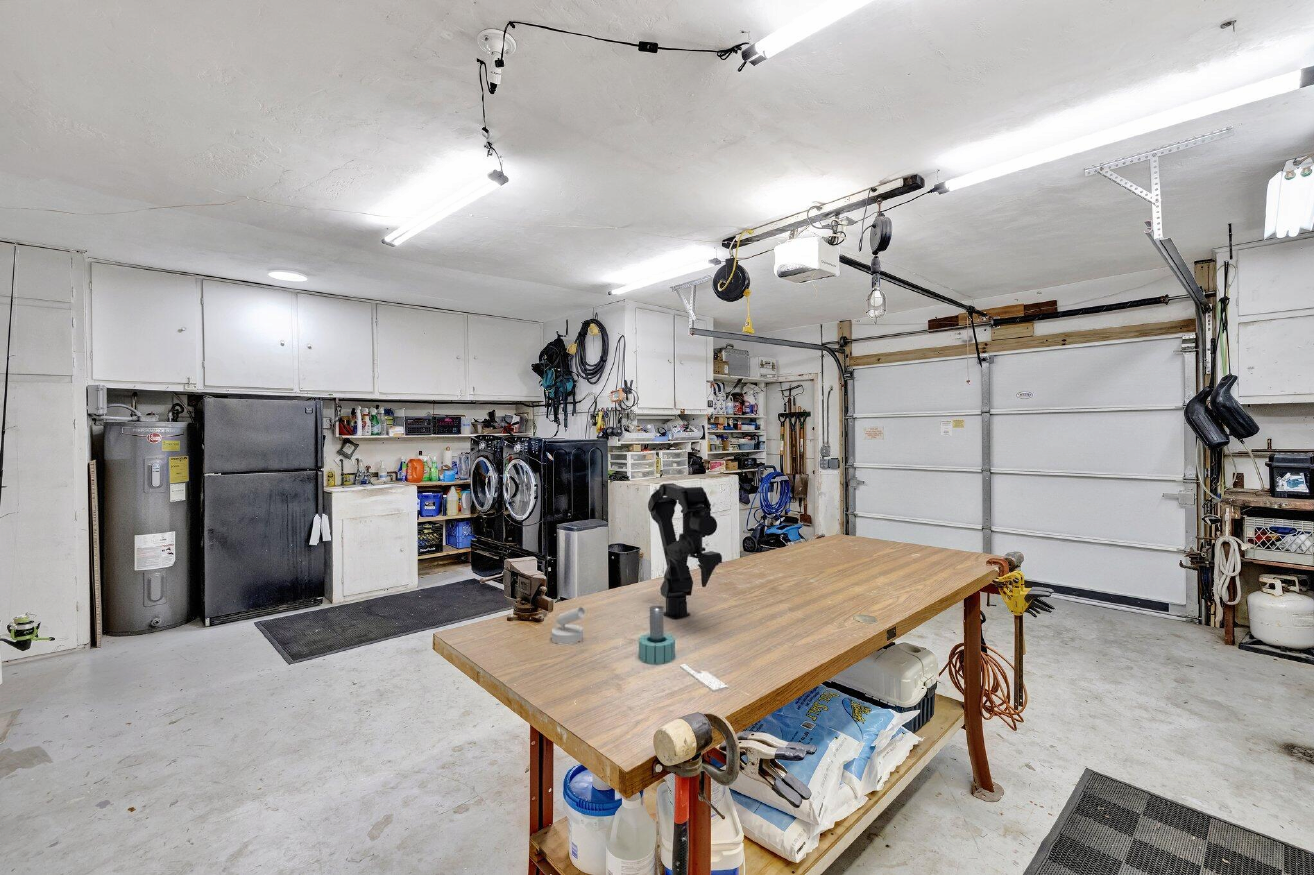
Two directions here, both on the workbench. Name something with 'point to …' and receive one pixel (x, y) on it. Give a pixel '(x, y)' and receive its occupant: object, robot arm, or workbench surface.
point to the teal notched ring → (656, 650)
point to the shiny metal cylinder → (656, 624)
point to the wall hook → (568, 627)
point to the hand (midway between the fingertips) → (692, 583)
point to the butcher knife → (705, 679)
